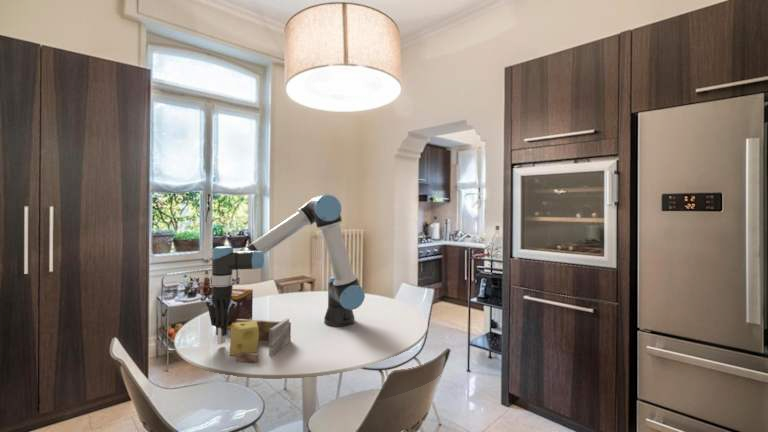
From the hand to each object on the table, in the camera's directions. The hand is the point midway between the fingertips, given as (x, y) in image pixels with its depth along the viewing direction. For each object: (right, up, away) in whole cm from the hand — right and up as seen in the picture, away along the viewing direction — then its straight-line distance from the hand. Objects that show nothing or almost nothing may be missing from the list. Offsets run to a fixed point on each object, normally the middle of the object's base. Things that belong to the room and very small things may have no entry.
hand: (221, 343), depth 144 cm
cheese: (+10, -2, -2) cm, 11 cm away
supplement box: (-7, -2, +31) cm, 31 cm away
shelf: (+12, -2, -2) cm, 12 cm away
